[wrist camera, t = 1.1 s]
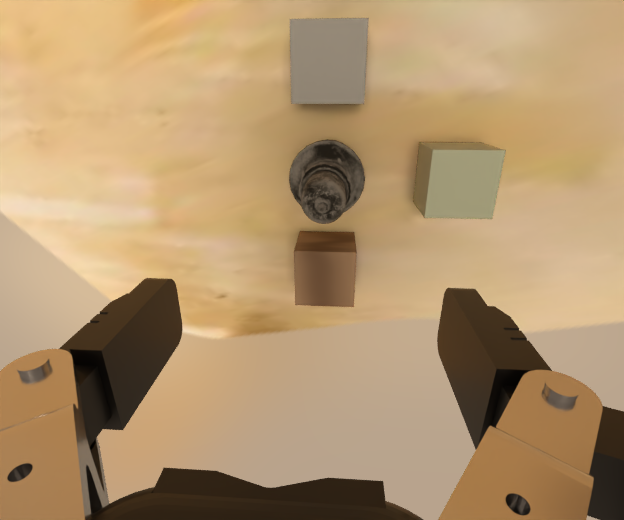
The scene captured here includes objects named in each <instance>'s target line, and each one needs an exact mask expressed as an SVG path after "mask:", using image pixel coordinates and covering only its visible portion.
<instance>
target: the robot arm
mask: <svg viewBox="0 0 624 520" xmlns="http://www.w3.org/2000/svg"><path fill="white" fill-rule="evenodd" d="M181 335H182V320H181V313H180V307H179V301H178V294H177V288H176V284H175V282H174V281H173V280H172V279H156V278H146V279H144V280H143V281H142V282H141V283H140V284H139V285H138V286H137V287H136V288H135V289H133V290H132V291H131V292H130V293H129V294H126V295H124V296H122V297H120V298H118V299H116V300H114V301H112V302H110V303H109V304H108V305H107V306H106V307H105V308H104V309H103V310H102V311H100V314H97V315H96V316H95V317H94V318H93V319H92V320H91V321H90V323H87V324H86V325H85V326H84V327H83V328H82V329H80V330H79V331H78V332H77V333H76V334H75V335H74V336H73V337H72V338H70V339H69V340H68V341H67V342H66V343H65V344H64V345H63V346H62V347H60V349H47V350H41V351H37V352H34V353H30V354H28V355H25V356H23V357H20V358H18V359H16V360H15V361H13V362H11V363H10V364H8V365H7V366H6V367H4V368H3V369H2V370H1V371H0V520H423V519H421V518H420V517H418V516H417V515H415V514H413V513H412V512H410V511H408V510H406V509H404V508H402V507H400V506H398V505H395V504H393V503H390V502H387V501H385V494H384V486H383V481H371V480H355V479H338V478H325V479H319V480H313V481H309V482H303V483H297V484H292V485H286V486H281V487H276V488H266V487H262V486H259V485H256V484H253V483H250V482H247V481H244V480H242V479H239V478H236V477H233V476H230V475H227V474H224V473H221V472H218V471H208V470H207V471H206V470H192V469H176V468H164V469H163V471H162V473H161V475H160V477H159V479H158V481H157V483H156V486H155V487H154V488H148V489H145V490H142V491H138V492H135V493H133V494H130V495H128V496H125V497H123V498H120V499H118V500H116V501H114V502H112V503H111V504H109V500H108V494H107V488H106V483H105V476H104V470H103V464H102V458H101V452H100V446H99V443H98V440H97V436H98V434H99V433H100V432H101V431H102V429H113V430H123V429H124V428H125V426H126V424H127V423H128V421H129V420H130V418H131V417H132V415H133V414H134V412H135V410H136V409H137V408H138V406H139V404H140V403H141V401H142V400H143V398H144V397H145V395H146V394H147V392H148V390H149V389H150V387H151V386H152V384H153V383H154V381H155V380H156V378H157V377H158V375H159V374H160V372H161V371H162V369H163V367H164V366H165V364H166V363H167V361H168V360H169V358H170V357H171V355H172V353H173V352H174V350H175V349H176V347H177V346H178V344H179V342H180V339H181ZM437 342H438V352H439V356H440V358H441V361H442V364H443V366H444V369H445V371H446V374H447V377H448V379H449V382H450V384H451V387H452V389H453V392H454V395H455V397H456V400H457V402H458V405H459V407H460V410H461V413H462V415H463V417H464V420H465V423H466V425H467V428H468V431H469V433H470V436H471V438H472V441H473V443H474V446H475V449H476V451H475V453H474V455H473V457H472V458H471V460H470V462H469V464H468V466H467V468H466V469H465V471H464V473H463V475H462V477H461V479H460V481H459V482H458V484H457V486H456V488H455V490H454V491H453V493H452V495H451V497H450V499H449V501H448V502H447V504H446V506H445V508H444V510H443V512H442V514H441V515H440V517H439V519H438V520H586V518H587V515H588V516H591V517H594V518H597V519H600V520H624V412H623V411H619V410H615V409H611V408H607V407H604V406H602V403H601V401H600V399H599V397H598V396H597V395H596V394H595V393H594V392H593V391H592V390H591V389H590V388H589V387H587V386H586V385H585V384H583V383H581V382H580V381H578V380H576V379H574V378H572V377H570V376H567V375H565V374H562V373H559V372H554V371H552V370H551V369H550V367H549V366H548V365H547V364H546V362H545V361H544V360H543V358H542V357H541V356H540V355H539V353H538V352H537V351H536V350H535V348H534V347H533V346H532V344H531V343H530V342H529V341H527V338H526V337H525V335H524V334H523V333H522V332H521V331H519V328H518V326H517V325H516V324H515V323H514V321H513V320H512V319H511V317H510V316H508V315H507V314H505V313H504V312H502V311H501V310H499V309H498V308H496V307H494V306H487V305H486V303H485V302H484V300H483V299H482V297H481V296H480V295H479V293H478V292H477V291H476V290H475V289H461V288H447V289H446V291H445V294H444V298H443V305H442V311H441V317H440V324H439V330H438V340H437Z"/></svg>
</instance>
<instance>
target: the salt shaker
mask: <svg viewBox="0 0 624 520" xmlns="http://www.w3.org/2000/svg"><path fill="white" fill-rule="evenodd" d="M364 181H365V176H364V169H363V166H362V163H361V161H360V159H359V158H358V156H357V155H356V154H355V152H354V151H353V150H351V149H350V148H349V147H347V146H346V145H344V144H343V143H341V142H338V141H335V140H323V141H318V142H315V143H313V144H311V145H308V146H306V147H305V148H304V149H303V150H302V151H301V152H299V154H298V155H297V157H296V158H295V160H294V161H293V163H292V166H291V169H290V177H289V182H290V187H291V191H292V193H293V195H294V197H295V199H296V200H297V202H298V203H299V204H300V205H301V206H302V208H303V211H304V213H305V214H306V215H307V216H308V218H310V219H311V220H313V221H315V222H317V223H322V224H326V223H331V222H333V221H335V220H337V219H338V218H339V217H340V216H341V215H342V213H343V212H345V211H347V210H348V209H349V208H351V207H352V206H353V205H354V204H355V203H356V202H357V200H358V199H359V198H360V195H361V193H362V191H363V188H364Z"/></svg>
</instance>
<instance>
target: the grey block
mask: <svg viewBox="0 0 624 520" xmlns="http://www.w3.org/2000/svg"><path fill="white" fill-rule="evenodd" d="M367 38H368V18H332V19H290V58H291V104H364V97H365V77H366V57H367Z"/></svg>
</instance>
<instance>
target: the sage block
mask: <svg viewBox="0 0 624 520" xmlns="http://www.w3.org/2000/svg"><path fill="white" fill-rule="evenodd" d="M505 151H506V150H503V149H500V148H497V147H494V146H490V145H487V144H484V143H467V142H419V150H418V159H417V169H416V178H415V187H414V196H413V202H414V204H415V205H416V206H417V208H418V209H419V211H420V212H421V214H422V215H423V216H424V218H460V219H492V217H493V212H494V207H495V202H496V197H497V192H498V187H499V182H500V177H501V172H502V167H503V162H504V157H505Z"/></svg>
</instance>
